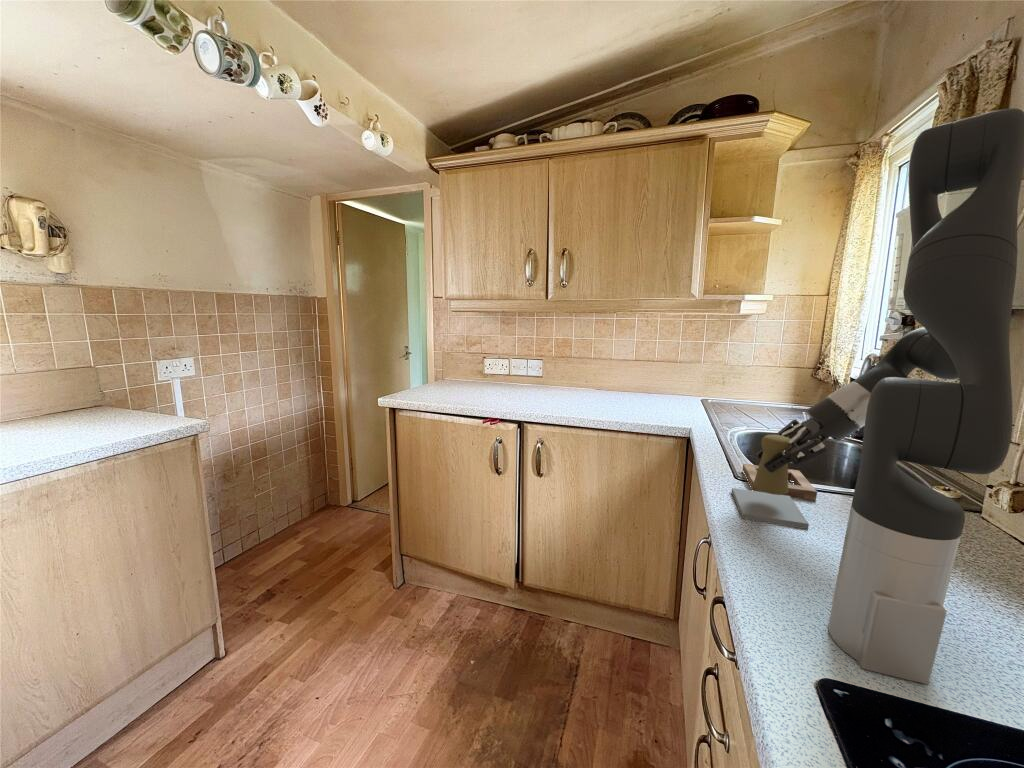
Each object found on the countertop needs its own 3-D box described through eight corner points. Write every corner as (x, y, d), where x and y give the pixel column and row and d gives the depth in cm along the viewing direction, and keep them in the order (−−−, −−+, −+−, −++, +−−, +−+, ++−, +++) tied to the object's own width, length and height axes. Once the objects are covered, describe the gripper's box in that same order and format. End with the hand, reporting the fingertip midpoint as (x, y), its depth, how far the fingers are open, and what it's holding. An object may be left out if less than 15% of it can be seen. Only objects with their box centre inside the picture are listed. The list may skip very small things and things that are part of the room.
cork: (756, 478, 88) (762, 429, 86) (789, 486, 84) (797, 435, 82) (750, 488, 83) (757, 437, 81) (786, 497, 80) (794, 444, 77)
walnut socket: (815, 500, 88) (817, 491, 88) (752, 491, 92) (753, 483, 92) (797, 478, 100) (799, 470, 99) (742, 471, 103) (743, 463, 103)
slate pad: (808, 528, 77) (808, 523, 77) (742, 518, 81) (742, 513, 80) (788, 500, 88) (789, 495, 88) (731, 492, 92) (732, 487, 92)
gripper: (816, 388, 84) (742, 438, 90) (846, 405, 71) (757, 462, 77) (843, 416, 83) (767, 464, 90) (878, 438, 70) (786, 493, 76)
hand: (763, 463), depth 83 cm, fingers closed on cork, 5 cm apart
